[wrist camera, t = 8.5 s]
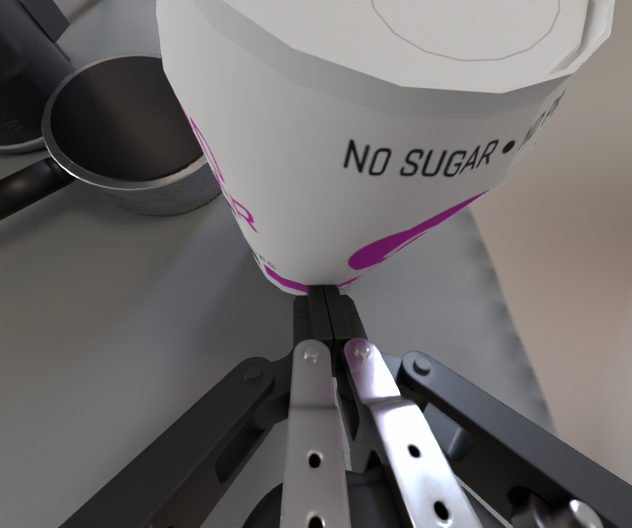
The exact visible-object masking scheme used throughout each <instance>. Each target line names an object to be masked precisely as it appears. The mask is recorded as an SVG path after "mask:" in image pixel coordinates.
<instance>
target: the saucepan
mask: <svg viewBox="0 0 632 528" xmlns="http://www.w3.org/2000/svg"><path fill="white" fill-rule="evenodd" d="M42 133H43V138H44V141H45V144H46V146H47V149H48V150H49V152H50V153H51V155H52V157H50V158H45V159H43V160H41V161H39V162H36V163H34V164H32V165H30V166H28V167H26V168H24V169H22V170H20V171H18V172H16V173H14V174H12V175H10V176H7V177H5V178H3V179H1V180H0V220H2V219H4V218H6V217H8V216H10V215H12V214H14V213H16V212H17V211H19V210H21V209H23V208H25V207H27V206H29V205H31V204H33V203H35V202H37V201H38V200H40V199H42V198H44V197H46V196H48V195H50V194H52V193H54V192H56V191H58V190H59V189H61V188H63V187H65V186H67V185H69V184H71V183H72V182H74V181H75V179H76V178H77V179H78V180H80V181H81V182H83V183H84V184H86V185H87V186H88V187H90V188H91V189H93V190H94V191H96V192H97V193H99V194H100V195H101V196H103V197H104V198H106V199H107V200H109V201H110V202H112V203H113V204H115V205H117V206H118V207H120V208H123V209H125V210H127V211H130V212H134V213H137V214H142V215H148V216H170V215H176V214H181V213H185V212H188V211H191V210H194V209H196V208H199V207H201V206H203V205H204V204H206V203H208V202H209V201H211V200H212V199H213V198H215V197H216V196H217V195H218V194H219V193H220V192H222V190H221V188H220V185H219V183H218V181H217V179H216V177H215V175H214V173H213V171H212V169H211V167H210V165H209V163H208V161H207V159H206V157H205V154H204V152H203V150H202V148H201V146H200V144H199V142H198V140H197V138H196V136H195V134H194V132H193V130H192V128H191V126H190V124H189V121H188V119H187V117H186V115H185V113H184V111H183V109H182V107H181V105H180V103H179V101H178V99H177V97H176V95H175V93H174V90H173V88H172V86H171V84H170V82H169V80H168V78H167V76H166V74H165V72H164V70H163V62H162V55H161V54H154V53H124V54H117V55H113V56H108V57H104V58H101V59H98V60H96V61H93V62H91V63H89V64H86V65H84V66H82V67H81V68H79V69H77V70H76V71H74V72H73V73H71V74H70V75H69V76H67V77H66V78H65V79H64V80H63V81H62V82H61V83H60V84H59V85H58V86H57V87H56V88H55V90H54V91H53V92H52V94H51V95H50V97H49V99H48V101H47V103H46V105H45V108H44V111H43V116H42Z"/></svg>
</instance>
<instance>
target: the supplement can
mask: <svg viewBox="0 0 632 528" xmlns="http://www.w3.org/2000/svg"><path fill="white" fill-rule="evenodd" d="M614 2H615V0H156V13H157V21H158V29H159V37H160V45H161V53H162V62H163V70H164V72H165V74H166V76H167V78H168V80H169V82H170V84H171V86H172V88H173V90H174V93H175V95H176V97H177V99H178V101H179V103H180V105H181V107H182V109H183V111H184V113H185V115H186V117H187V119H188V121H189V124H190V126H191V128H192V130H193V132H194V134H195V136H196V138H197V140H198V142H199V144H200V146H201V148H202V150H203V152H204V154H205V157H206V159H207V161H208V163H209V165H210V167H211V169H212V171H213V173H214V175H215V177H216V179H217V181H218V183H219V185H220V188H221V190H222V192H223V194H224V196H225V198H226V200H227V202H228V204H229V206H230V208H231V210H232V212H233V214H234V216H235V218H236V221H237V223H238V225H239V227H240V229H241V231H242V233H243V235H244V237H245V239H246V241H247V243H248V245H249V247H250V249H251V252H252V254H253V256H254V258H255V260H256V262H257V263H258V265H259V267H260V268H261V270H262V271H263V273H264V275H265V276H266V278H267V279H268V280H269V281H271V282H272V283H273V284H275V285H276V286H277V287H279V288H280V289H281V290H283V291H284V292H288V293H291V294H294V295H307V285H337V287H338V290H339V289H341V288H343V287H345V286H346V285H348V284H349V283H351V282H352V281H354V280H355V279H357V278H358V277H360V276H361V275H363V274H364V273H366V272H367V271H369V270H370V269H372V268H373V267H375V266H376V265H378V264H379V263H381V262H382V261H384V260H385V259H387V258H388V257H390V256H391V255H393V254H394V253H396V252H397V251H399V250H400V249H402V248H403V247H405V246H406V245H408V244H409V243H411V242H412V241H414V240H415V239H417V238H418V237H420V236H421V235H423V234H424V233H426V232H427V231H429V230H430V229H432V228H433V227H435V226H436V225H438V224H439V223H441V222H442V221H444V220H445V219H447V218H448V217H450V216H451V215H453V214H454V213H456V212H457V211H459V210H460V209H462V208H463V207H465V206H466V205H468V204H469V203H471V202H472V201H473V200H475V199H477V198H478V197H480V196H481V195H482V194H484V193H486V192H487V191H488V190H490V189H491V188H493V187H495V186H496V185H498V184H499V183H500V182H501V181H502V180H503V179H504V178H505V176H506V175H507V174H508V173H509V172H510V171H511V170H512V169H513V168H514V167H515V166H516V164H517V163H518V162H519V161H520V160H521V159H522V158H523V157H524V156H525V154H526V153H527V152H528V151H529V150H530V149H531V148H532V147H533V146H534V145H535V143H536V142H537V140H538V138H539V136H540V135H541V133H542V131H543V129H544V128H545V126H546V124H547V122H548V120H549V119H550V117H551V115H552V113H553V112H554V110H555V108H556V106H557V105H558V103H559V101H560V99H561V97H562V96H563V94H564V92H565V90H566V88H567V87H568V85H569V83H570V81H571V80H572V78H573V76H574V74H575V72H576V71H577V69H578V68H579V67H580V66H581V64H583V63H584V61H586V60H587V59H588V57H590V55H591V54H592V53H594V51H595V50H596V49H597V48H598V47H599V46H600V45H601V44H602V43H603V42H604V41H605V40H606V39H607V38H608V37H609V36H610V33H611V25H612V18H613V10H614Z"/></svg>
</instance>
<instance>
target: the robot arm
mask: <svg viewBox="0 0 632 528" xmlns="http://www.w3.org/2000/svg"><path fill="white" fill-rule="evenodd" d="M69 24H70V23H69V22H68V20H67V19H66V18H65V16H64V15H63V13H62V12H61V11H60V9H59V8H58V7H57V5H56V4H55V2H54V1H53V0H0V154H15V153H24V152H29V151H33V150H37V149H41V148H44V147H46V144H45V141H44V138H43V133H42V116H43V111H44V108H45V105H46V103H47V101H48V99H49V97H50V95H51V94H52V92H53V91H54V90H55V88H56V87H57V86H58V85H59V84H60V83H61V82H62V81H63V80H64V79H65V78H66V77H67V76H69V75H70V74H71V73H73V72H74V71H76V69H75V68H74V67H73V66H72V65H71V64H70V59H69V57H68V56H67V55H66V54H65V52H64V51H63V50H62V49H61V47H60V46H59V45H58V44H57V43H56V41H57V40H58V39H59V37H60V36H61V35H62V33H63V32H64V31H65V30H66V28H67V27H68V26H69ZM332 377H336V380H337V391H336V395H337V399H338V403H339V407H340V411H341V415H342V419H343V423H344V427H345V431H346V434H347V438H348V442H349V448H350V461H351V469H352V471H347V470H345V463H344V454H343V445H342V436H341V426H340V417H339V411H338V408H337V407H336V406H335V400H334V389H333V379H332ZM429 402H430V403H431V404H432V405H431V404H430V403H429ZM433 405H434V406H435V407H436V408H435V407H434V406H433ZM437 408H438V409H439V410H440V411H441V412H440V411H439V410H438V409H437ZM442 412H443V413H444V414H445V415H444V414H443V413H442ZM446 415H447V416H448V417H449V418H448V417H447V416H446ZM287 418H288V425H287V438H286V451H285V465H284V478H283V482H282V483H281V484H279V485H278V486H276V487H275V488H273V489H272V490H271V491H270V492H269V493H268V494H266V495H265V496H264V497H263V499H262V500H261V501H260V502H259V503H258V504H257V505H256V507H255V508H254V509H253V511H252V512H251V513H250V515H249V517H248V518H247V520H246V521H245V523H244V525H243V527H242V528H506V527H505V526H504V525H503V524H502V523H501V522H500V521H499V520H498V519H497V518H495V517H494V516H493V515H492V514H491V513H490V512H489V511H488V510H487V509H486V508H485V507H484V506H483V505H482V504H481V503H480V502H479V501H478V500H477V499H475V498H474V497H473V496H472V495H471V494H470V493H469V492H468V491H467V490H466V489H465V488H463V487H462V486H461V485H460V483H459V482H458V480H457V478H456V476H457V477H459V478H460V479H461V480H462V481H463V482H464V483H465V484H466V485H467V486H469V487H470V488H471V489H472V490H473V491H474V492H475V493H476V494H478V495H479V496H480V497H481V498H482V499H483V500H484V501H485V502H486V503H488V504H489V505H490V506H491V507H492V508H493V509H494V510H495V511H497V512H498V513H499V514H500V515H501V516H502V517H503V518H504V519H505V520H507V521H508V522H509V523H510V524H511V525H512V526H513V528H632V486H631V485H630V484H628V483H627V482H625V481H623V480H622V479H620V478H619V477H617V476H616V475H614V474H613V473H611V472H609V471H608V470H606V469H605V468H603V467H602V466H600V465H599V464H597V463H595V462H594V461H592V460H591V459H589V458H588V457H586V456H584V455H583V454H581V453H580V452H578V451H577V450H575V449H574V448H572V447H570V446H569V445H567V444H566V443H564V442H563V441H561V440H560V439H558V438H556V437H555V436H553V435H552V434H550V433H549V432H547V431H546V430H544V429H542V428H541V427H539V426H538V425H536V424H535V423H533V422H531V421H530V420H528V419H527V418H525V417H524V416H522V415H521V414H519V413H517V412H516V411H514V410H513V409H511V408H510V407H508V406H507V405H505V404H503V403H502V402H500V401H499V400H497V399H496V398H494V397H492V396H491V395H489V394H488V393H486V392H485V391H483V390H482V389H480V388H478V387H477V386H475V385H474V384H472V383H471V382H469V381H468V380H466V379H464V378H463V377H461V376H460V375H458V374H457V373H455V372H453V371H452V370H450V369H449V368H447V367H446V366H444V365H443V364H441V363H439V362H438V361H436V360H435V359H433V358H432V357H430V356H428V355H427V354H424V353H422V352H418V351H410V352H407V353H406V354H405V355H404V356H403V358H399V357H395V356H391V355H387V354H384V353H382V352H380V351H379V350H378V348H377V347H376V346H375V345H374V344H373V343H372V342H370V341H369V340H368V338H367V335H366V333H365V330H364V328H363V325H362V322H361V320H360V317H359V314H358V312H357V310H356V307H355V304H354V301H353V300H352V299H351V298H350V297H349V296H348V295H340V293H339V290H338V287H337V285H307V295H297V297H296V298H295V300H294V302H293V349H292V351H291V352H290V353H289V354H288V355H287V356H286V357H284V358H282V359H280V360H277V361H274V362H270V361H269V360H267V359H265V358H263V357H251V358H248V359H246V360H244V361H242V362H241V363H240V364H238V365H237V366H236V367H235V368H234V369H233V370H232V371H231V372H230V373H229V374H227V375H226V376H225V377H224V378H223V379H222V380H221V381H220V382H219V383H218V384H216V385H215V386H214V387H213V388H212V389H211V390H210V391H209V392H208V393H206V394H205V395H204V396H203V397H202V398H201V399H200V400H199V401H198V402H197V403H195V404H194V405H193V406H192V407H191V408H190V409H189V410H188V411H187V412H186V413H184V414H183V415H182V416H181V417H180V418H179V419H178V420H177V421H176V422H174V423H173V424H172V425H171V426H170V427H169V428H168V429H167V430H166V431H165V432H163V433H162V434H161V435H160V436H159V437H158V438H157V439H156V440H155V441H154V442H152V443H151V444H150V445H149V446H148V447H147V448H146V449H145V450H144V451H142V452H141V453H140V454H139V455H138V456H137V457H136V458H135V459H134V460H133V461H131V462H130V463H129V464H128V465H127V466H126V467H125V468H124V469H123V470H121V471H120V472H119V473H118V474H117V475H116V476H115V477H114V478H113V479H112V480H110V481H109V482H108V483H107V484H106V485H105V486H104V487H103V488H102V489H101V490H99V491H98V492H97V493H96V494H95V495H94V496H93V497H92V498H91V499H89V500H88V501H87V502H86V503H85V504H84V505H83V506H82V507H81V508H80V509H78V510H77V511H76V512H75V513H74V514H73V515H72V516H71V517H70V518H69V519H67V520H66V521H65V522H64V523H63V524H62V525H61V526H60V527H59V528H200V526H201V525H202V523H203V522H204V521H205V519H206V518H207V517H208V515H209V514H210V513H211V511H212V510H213V508H214V507H215V506H216V504H217V503H218V502H219V500H220V499H221V498H222V496H223V495H224V493H225V492H226V491H227V489H228V488H229V487H230V485H231V484H232V483H233V481H234V480H235V478H236V477H237V476H238V474H239V473H240V472H241V470H242V469H243V468H244V466H245V465H246V463H247V462H248V461H249V459H250V458H251V457H252V455H253V454H254V453H255V451H256V450H257V448H258V447H259V446H260V444H261V443H262V442H263V440H264V439H265V438H266V436H267V435H268V433H269V432H270V431H271V429H272V428H273V426H274V424H276V423H279V422H281V421H283V420H285V419H287ZM450 418H451V419H452V420H453V421H455V422H456V423H457V424H459V425H460V426H461V427H460V426H459V425H457V424H456V423H455V422H453V421H452V420H451V419H450ZM455 475H456V476H455Z"/></svg>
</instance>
